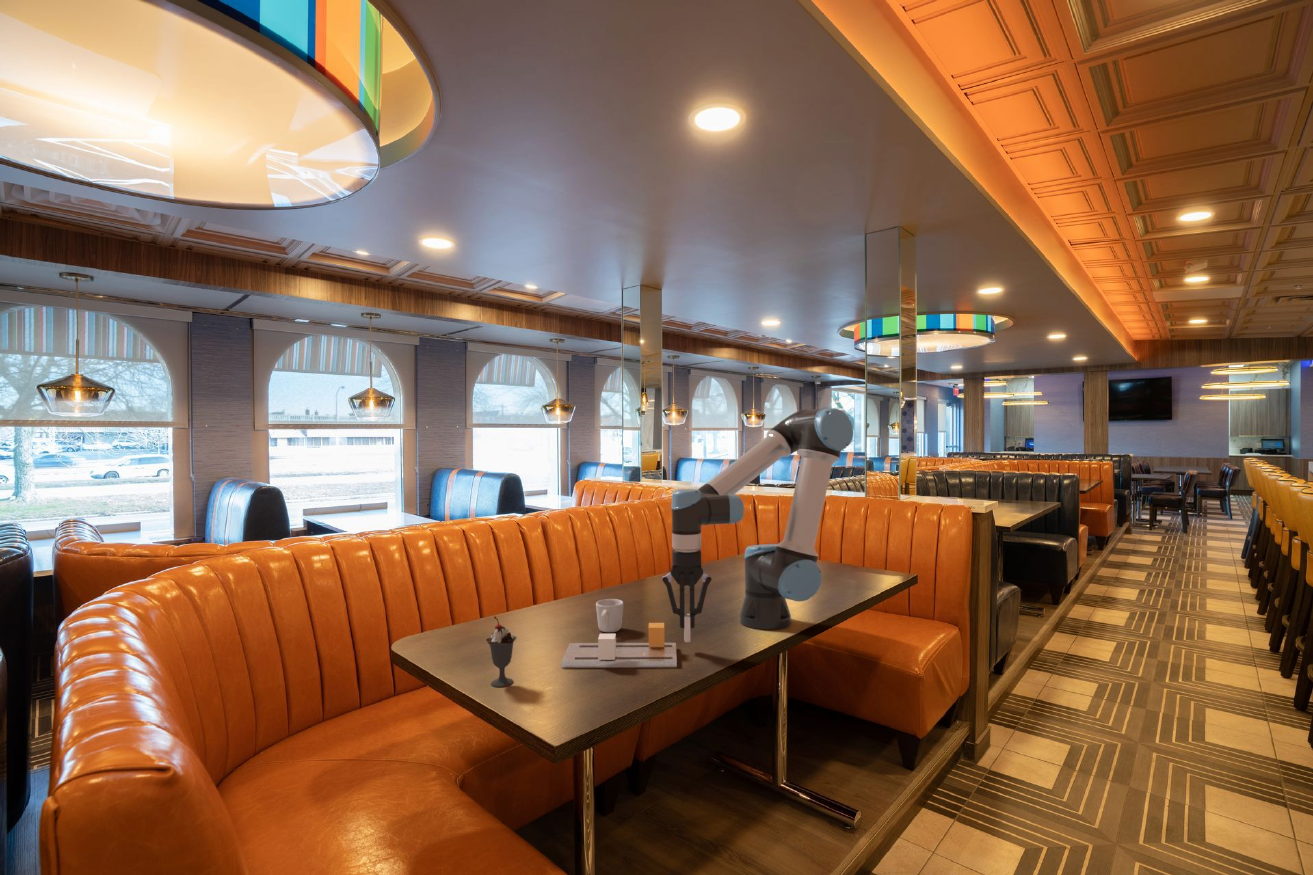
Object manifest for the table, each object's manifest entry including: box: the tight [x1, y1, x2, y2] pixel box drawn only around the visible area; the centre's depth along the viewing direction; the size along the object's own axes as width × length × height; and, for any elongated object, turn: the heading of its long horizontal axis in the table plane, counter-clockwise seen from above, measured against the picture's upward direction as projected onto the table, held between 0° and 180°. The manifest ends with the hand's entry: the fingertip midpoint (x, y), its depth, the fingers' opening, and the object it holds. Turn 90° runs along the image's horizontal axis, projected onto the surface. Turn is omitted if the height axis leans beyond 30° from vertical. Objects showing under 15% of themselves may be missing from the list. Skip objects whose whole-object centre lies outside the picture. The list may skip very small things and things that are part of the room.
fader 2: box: [648, 622, 665, 647], centre depth 158 cm, size 4×4×5 cm
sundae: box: [485, 615, 517, 688], centre depth 139 cm, size 7×7×15 cm
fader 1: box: [597, 633, 617, 660], centre depth 150 cm, size 4×4×5 cm
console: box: [560, 642, 678, 669], centre depth 154 cm, size 28×13×2 cm, turn 89°
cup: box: [595, 598, 624, 633], centre depth 175 cm, size 11×8×8 cm
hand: (687, 640), depth 158 cm, fingers closed
